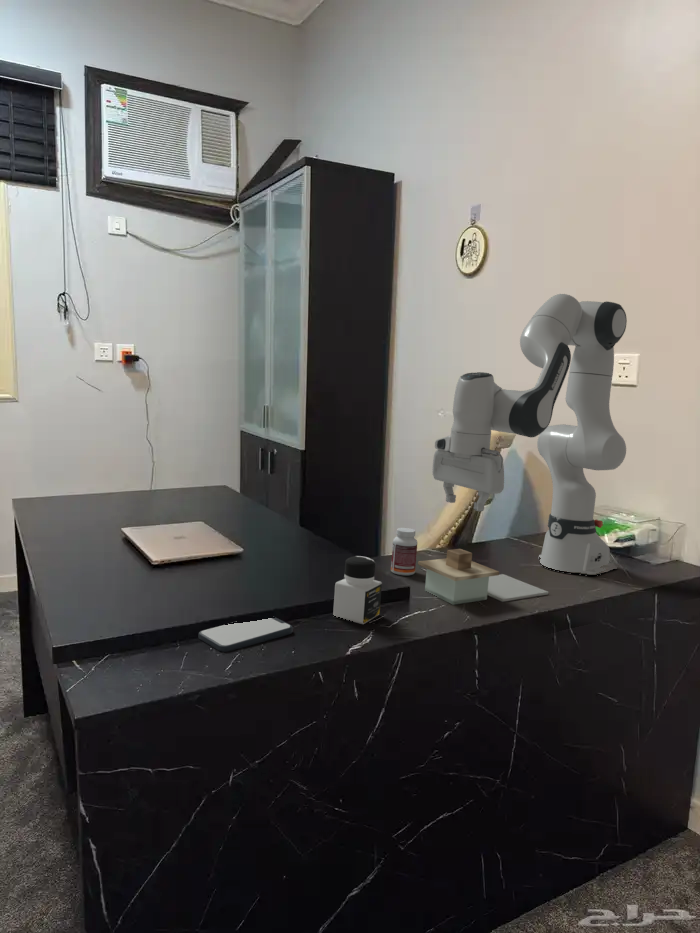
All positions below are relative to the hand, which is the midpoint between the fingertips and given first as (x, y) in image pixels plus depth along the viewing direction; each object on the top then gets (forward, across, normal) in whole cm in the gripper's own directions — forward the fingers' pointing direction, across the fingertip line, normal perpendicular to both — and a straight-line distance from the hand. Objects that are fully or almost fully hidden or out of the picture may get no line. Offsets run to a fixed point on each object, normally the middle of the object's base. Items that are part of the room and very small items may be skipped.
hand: (464, 506), depth 153 cm
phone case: (+21, -4, +54) cm, 58 cm away
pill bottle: (+21, +19, +1) cm, 28 cm away
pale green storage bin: (+21, 0, 0) cm, 21 cm away
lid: (+15, 0, 0) cm, 15 cm away
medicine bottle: (+21, -3, +29) cm, 36 cm away
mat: (+21, 0, -15) cm, 26 cm away
